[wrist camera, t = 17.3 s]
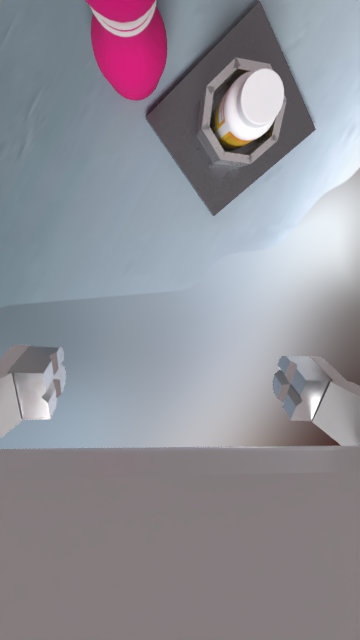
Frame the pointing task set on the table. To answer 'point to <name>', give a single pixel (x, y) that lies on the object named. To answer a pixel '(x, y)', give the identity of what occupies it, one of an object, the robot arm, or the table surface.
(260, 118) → the supplement bottle
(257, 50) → the collar
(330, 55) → the table surface
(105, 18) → the pepper mill
